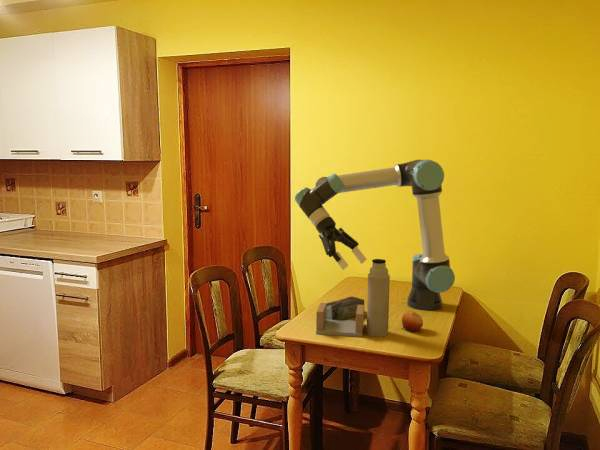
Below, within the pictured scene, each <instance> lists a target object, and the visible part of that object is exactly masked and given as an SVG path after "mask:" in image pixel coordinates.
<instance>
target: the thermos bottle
mask: <svg viewBox="0 0 600 450" xmlns="http://www.w3.org/2000/svg"><path fill="white" fill-rule="evenodd" d="M371 262H372V264H371V265H372V267H370V268H369V273H368V274H367V296H366V297H367V299H366V301H367V302H366V303H367V304H366V305H367V306H366V308H367V311H366V312H367V313H366V334H367V335H369V336H370V337H378V338H379V337H380V338H381V337H386V336H387V335H388V334H389V320H390V319H389V316H390V315H389V313H390V311H389V310H390V307H389V306H390V283H391V282H390V281H391V280H390V278H391V277H390V276H391V275H390V274H389V269H388V268H387V267H386V265H387V264H386V262H387V261H386V259H379V258H374V259H372V261H371Z"/></svg>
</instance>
